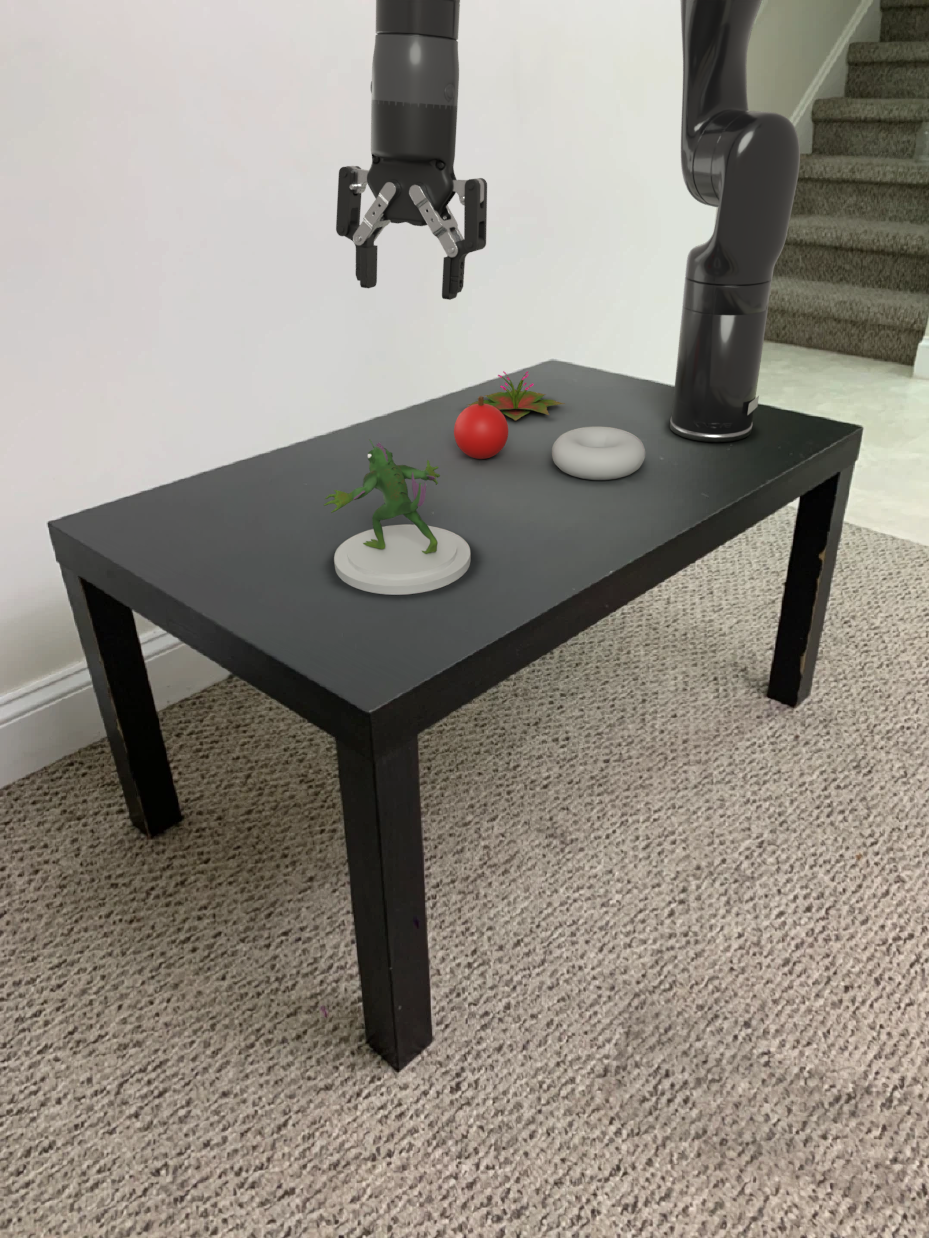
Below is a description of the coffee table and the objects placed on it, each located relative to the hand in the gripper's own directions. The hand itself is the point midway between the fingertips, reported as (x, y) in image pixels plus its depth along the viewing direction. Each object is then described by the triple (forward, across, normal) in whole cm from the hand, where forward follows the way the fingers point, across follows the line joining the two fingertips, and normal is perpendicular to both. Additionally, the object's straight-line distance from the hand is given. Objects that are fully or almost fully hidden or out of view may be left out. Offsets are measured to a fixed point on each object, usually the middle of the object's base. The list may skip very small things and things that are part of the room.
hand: (408, 292), depth 90 cm
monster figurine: (+20, -8, +16) cm, 27 cm away
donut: (+18, -18, -11) cm, 28 cm away
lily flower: (+18, -3, -27) cm, 32 cm away
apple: (+18, -5, -10) cm, 22 cm away
